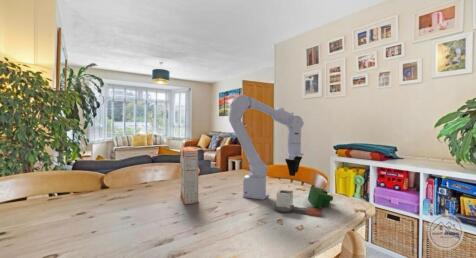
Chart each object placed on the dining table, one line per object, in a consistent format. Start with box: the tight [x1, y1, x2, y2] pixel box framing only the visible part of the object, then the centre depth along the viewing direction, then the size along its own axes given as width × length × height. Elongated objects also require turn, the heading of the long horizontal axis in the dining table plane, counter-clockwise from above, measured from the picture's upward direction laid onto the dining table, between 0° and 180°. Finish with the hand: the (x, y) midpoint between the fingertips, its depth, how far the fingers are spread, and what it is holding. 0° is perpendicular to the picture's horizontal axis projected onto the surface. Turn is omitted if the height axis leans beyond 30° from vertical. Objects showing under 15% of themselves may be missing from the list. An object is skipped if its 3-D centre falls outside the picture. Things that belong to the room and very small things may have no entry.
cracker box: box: [179, 146, 199, 206], centre depth 104 cm, size 14×6×21 cm, turn 18°
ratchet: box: [274, 203, 323, 217], centre depth 91 cm, size 16×7×4 cm, turn 68°
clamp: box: [307, 185, 334, 209], centre depth 100 cm, size 12×6×9 cm, turn 172°
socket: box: [275, 189, 294, 208], centre depth 93 cm, size 5×5×5 cm
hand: (293, 174), depth 111 cm, fingers open, 7 cm apart
